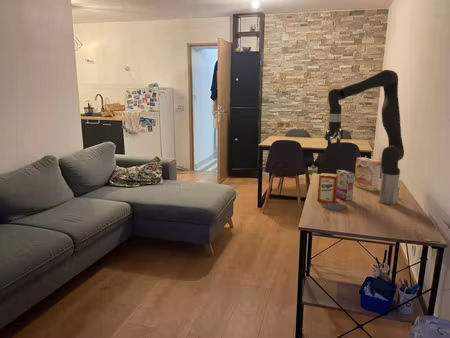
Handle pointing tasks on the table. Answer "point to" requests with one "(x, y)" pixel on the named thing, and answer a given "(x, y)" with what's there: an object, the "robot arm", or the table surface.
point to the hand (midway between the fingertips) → (333, 146)
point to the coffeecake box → (367, 173)
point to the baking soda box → (327, 187)
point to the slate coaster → (335, 206)
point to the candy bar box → (345, 185)
